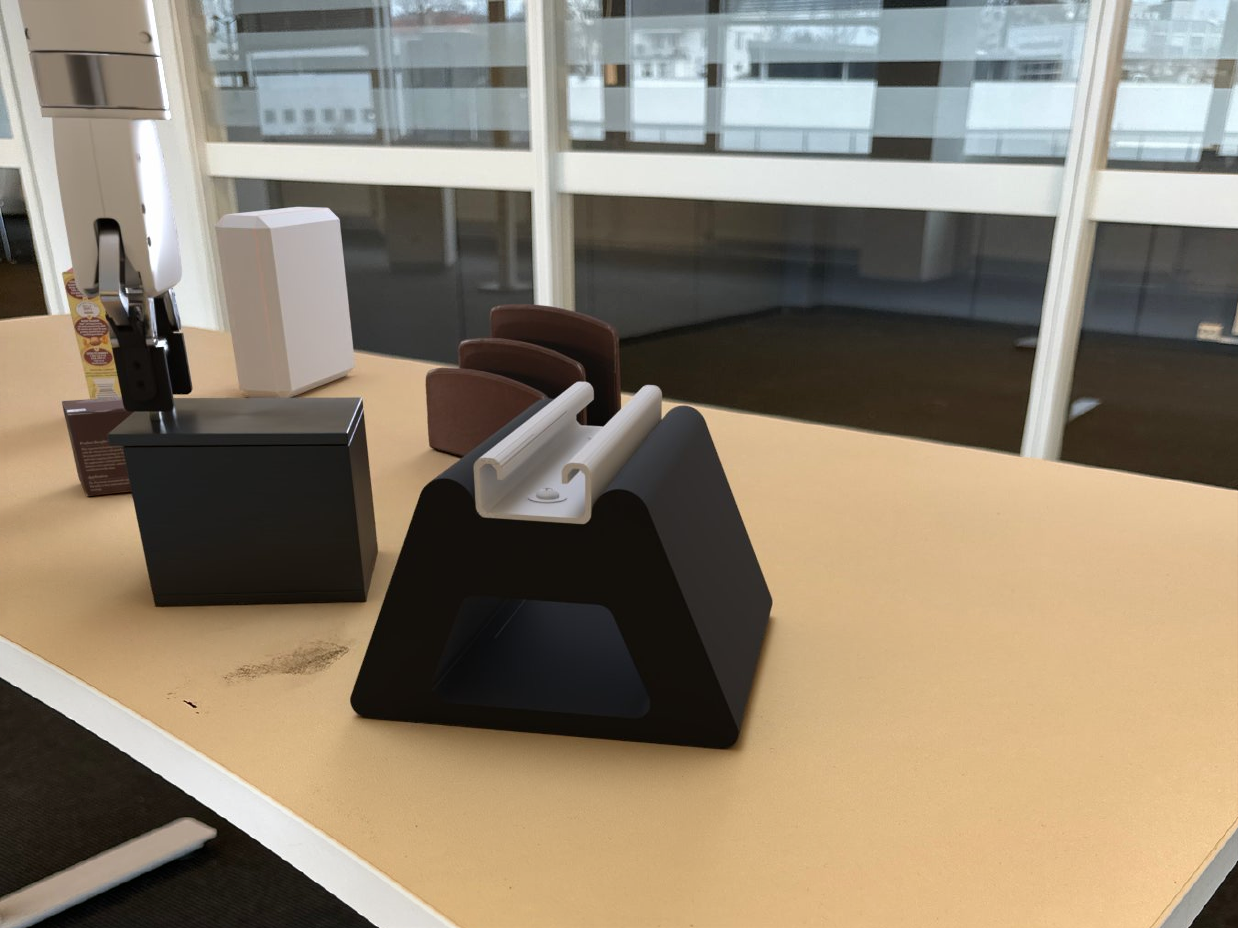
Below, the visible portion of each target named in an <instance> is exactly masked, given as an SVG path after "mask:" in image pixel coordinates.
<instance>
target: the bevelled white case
mask: <svg viewBox="0 0 1238 928" xmlns="http://www.w3.org/2000/svg"><path fill="white" fill-rule="evenodd" d="M341 229H342V228H341V220H340V218H339V216H337V215H336V214H335V212H333V211H332V210H331V208H329V207H320V206H319V207H316V206H315V207H313V206H293V207H284V208H283V207H282V208H274V209H273V208H272V209H265V210H256V211H255V210H254V211H247V212H237V213H236V212H235V213H228V214H223V215H222V216H221V218H220V219H219V220H218V221H217V223H216V224H215V225H214V230H215V237H216V244H217V250H218V251H217V252H218V256H219V263H220V269H221V276H222V283H223V289H224V294H225V303H226V308H227V309H226V310H227V316H228V321H229V328H230V333H231V334H230V335H231V342H232V348H233V349H232V350H233V354H234V355H233V356H234V362H235V368H236V373H237V375H236V376H237V380H238V381H237V382H238V388H239V389H240V390H241V391H242V392H243V393H244V394H245V395H247V397H248V398H294V397H296V396H299V395H301V394H303V393H306V392H309V391H312V390H313V389H316V388H319V387H321V386H324V385H326V384H329V383H332V382H333V381H336V380H339V379H341V378H344V377H347V376H348V375H349V374H350V372H352V371H353V369H354V368H355V367H356V362H355V360H356V359H355V352H354V344H353V343H354V342H353V333H352V324H351V323H352V322H351V315H350V304H349V295H348V285H347V276H346V267H345V258H344V248H343V240H342V230H341Z"/></svg>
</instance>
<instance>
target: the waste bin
mask: <svg viewBox="0 0 1238 928" xmlns="http://www.w3.org/2000/svg"><path fill="white" fill-rule="evenodd" d="M364 411H365V410H364V409H363V410H362V412H361V414H360V417H359V419H358V422H357V424H356V427H355V429H354V432H353V434H352V437H351V439H350V441H349V444H348V445H230V446H124V447H123V453H124V457H125V462H126V467H127V472H128V477H129V482H130V487H131V491H130V492H131V497H132V502H133V506H134V511H135V515H136V519H137V520H136V521H137V525H138V530H139V535H140V541H141V546H142V551H143V556H144V559H145V565H146V569H147V575H148V579H149V585H150V589H151V594H152V600H153V603H154V606H155V607H178V606H179V607H180V606H181V607H182V606H185V607H187V606H188V607H189V606H225V605H226V606H227V605H230V606H231V605H269V604H272V605H273V604H276V605H277V604H312V603H313V604H316V603H317V604H318V603H321V604H322V603H359V602H360V603H361V602H364V603H365V602H367V598H368V594H369V590H370V586H371V582H372V579H373V578H372V576H373V573H374V569H375V566H376V561H377V556H378V552H379V546H378V545H379V544H378V537H377V526H376V518H375V508H374V507H375V506H374V499H373V497H374V496H373V489H372V488H373V487H372V478H371V470H370V468H371V467H370V458H369V449H368V439H367V430H366V419H365V412H364Z"/></svg>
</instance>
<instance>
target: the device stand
mask: <svg viewBox="0 0 1238 928" xmlns="http://www.w3.org/2000/svg"><path fill="white" fill-rule="evenodd" d="M592 400H594V390H593V387H592V386H591V384H589V383H588V382H576V383H575V384H573V385H572V386H571V387H570V388H568V389H567V390H566V391H565V392H563V393H562V394H561V395H559V396H558V397H557V398H556V399H550V398H546V399H541V400H539V401H537V402H536V403H534V404H533V405H532V406H530V407H529V408H528V409H526V410H525V411H524V412H522V413H521V414H520V415H518V416H517V417H516V418H514V419H513V420H512V421H510V422H509V423H508V424H506V425H505V426H504V427H502V428H501V429H500V430H498V431H497V432H496V433H494V434H493V435H492V436H490V437H489V438H488V439H486V440H485V441H484V442H482V443H481V444H480V445H479V446H477V447H476V448H475V449H473V450H472V451H471V452H469V453H468V454H467V455H465V456H464V457H461V458H460V459H459V460H457V461H456V462H454V463H453V464H452V465H450V466H449V467H448V468H446V469H445V470H444V471H442V472H440V474H439V475H437V476H436V477H434V478H433V479H432V480H430V481H429V482H428V483H427V484H426V485H424V487H423V488H422V489H421V491H420V493H419V496H418V499H417V502H416V504H415V508H414V510H413V514H412V517H411V520H410V521H409V525H408V528H407V531H406V534H405V537H404V540H403V543H402V546H401V549H400V552H399V555H398V557H397V560H396V564H395V566H394V569H393V571H392V575H391V578H390V581H389V583H388V586H387V589H386V593H385V594H384V595H385V596H384V598H383V601H382V604H381V606H380V608H379V609H380V611H379V613H378V616H377V618H376V621H375V624H374V628H373V630H372V633H371V637H370V639H369V641H368V644H367V648H366V651H365V654H364V656H363V659H362V662H361V665H360V668H359V671H358V674H357V677H356V678H355V683H354V686H353V688H352V691H351V695H350V696H349V703H350V706H351V709H352V710H353V711H354V712H355V713H356V714H357V716H359V717H362V718H364V719H371V720H372V719H373V720H383V721H385V720H386V721H395V722H406V723H420V724H431V725H442V726H452V727H464V728H465V727H466V728H476V729H489V730H500V731H509V732H510V731H511V732H522V733H534V734H546V735H558V736H568V737H569V736H570V737H580V738H590V739H591V738H592V739H603V740H616V741H626V742H638V743H648V744H649V743H651V744H661V745H673V746H684V747H686V746H687V747H695V748H696V747H698V748H706V749H707V748H708V749H709V748H710V749H720V750H727V749H730V748H732V747H733V746H734V745H735V744H736V743H737V742H738V740H739V736H740V733H741V729H742V725H743V722H744V718H745V714H746V709H747V706H748V702H749V697H750V693H751V690H752V686H753V683H754V679H755V674H756V670H757V667H758V662H759V659H760V654H761V650H762V647H763V642H764V639H765V634H766V632H767V631H766V630H767V627H768V623H769V619H770V616H771V611H772V608H773V603H774V602H773V598H772V597H773V596H772V594H771V592H770V589H769V586H768V584H767V581H766V578H765V576H764V574H763V571H762V568H761V565H760V562H759V560H758V557H757V555H756V552H755V549H754V547H753V544H752V541H751V538H750V536H749V533H748V531H747V528H746V525H745V523H744V522H745V521H744V520H743V517H742V515H741V512H740V509H739V507H738V504H737V501H736V499H735V496H734V493H733V491H732V488H731V485H730V483H729V480H728V477H727V474H726V472H725V469H724V466H723V464H722V461H721V459H720V455H719V454H718V451H717V447H716V446H715V442H714V440H713V438H712V437H713V436H712V435H711V433H710V429H709V427H708V424H707V422H706V419H705V417H704V416H703V414H702V413H701V412H700V411H699V410H698V409H696V408H695V407H693V406H690V405H683V404H682V405H678V406H674V407H672V408H671V409H670V410H668V412H666V413H665V415H664V416H662V415H663V414H662V413H663V412H662V411H663V392H662V389H661V388H660V387H659V386H657V385H656V384H655V385H654V384H645V385H644V386H642V387H641V388H640V389H639V390H638V391H637V392H636V393H634V395H633V396H632V397H631V398H630V399H629V400H628V401H627V402H626V403H625V404H624V405H623V406H622V407H621V410H620V411H619V412H618V413H617V414H616V415H615V416H614V417H613V418H612V419H611V420H610V421H609V422H608V423H607V424H606V425H605V426H604V427H602V426H583V425H580V424H579V423H578V422H577V421H576V415H577V414H578V413H579V412H580V411H581V410H582V409H583V408H585V407H586V406H587V405H588V404H589V403H590V402H591V401H592Z"/></svg>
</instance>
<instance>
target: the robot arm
mask: <svg viewBox="0 0 1238 928" xmlns="http://www.w3.org/2000/svg"><path fill="white" fill-rule="evenodd" d="M17 3H18V8H19V12H20V17H21V22H22V27H23V31H24V37H25V42H26V45H27V46H26V47H27V51H28V52H29V53H28V56H29V57H28V58H29V61H30V66H31V70H32V75H33V80H34V85H35V90H36V96H37V101H38V104H39V107H40V115H41V117H42V118H51V121H52V122H51V123H52V137H53V149H54V158H55V167H56V174H57V181H58V188H59V195H60V200H61V207H62V212H63V219H64V227H65V232H66V237H67V238H66V239H67V244H68V248H69V249H68V250H69V254H70V256H69V257H70V261H71V266H72V267H73V273H74V278H75V283H76V287H77V288H78V290H79V291H80V292H81V293H82V294H83V295H84V296H86V297H96V296H100V300H101V302H102V304H103V306H104V308H105V310H106V311H105V312H106V314H105V317H106V320H107V321H108V330H109V338H110V342H111V345H112V351H113V356H114V361H115V366H116V371H117V376H118V381H119V386H120V391H121V396H122V401H123V406H124V408H125V409H126V410H127V411H129V412H168V411H171V410H172V409H173V408H174V406H175V403H174V398H175V397H174V396H177V395H179V396H181V395H183V396H185V395H189V394H191V393H192V391H193V382H192V377H191V371H190V365H189V359H188V352H187V347H186V341H185V335H184V332H182V320H181V317H180V311H179V308H178V303H177V300H176V293H175V291H174V287H175V286H176V285H178V284H179V283H180V281H181V280H182V276H183V268H182V257H181V250H180V249H181V248H180V243H179V237H178V229H177V225H176V219H175V213H174V206H173V202H172V197H171V191H170V186H169V180H168V175H167V169H166V166H165V160H164V158H165V157H164V153H163V151H162V146H161V142H160V137H159V132H158V128H157V124H156V121H172V116H171V110H170V109H171V108H170V102H169V96H168V90H167V84H166V78H165V71H164V66H163V59H162V58H161V56H162V55H161V48H160V43H159V36H158V30H157V23H156V18H155V17H156V16H155V10H154V5H153V0H17ZM72 267H71V268H72ZM157 332H160V333H162V334H164V335H166V336H167V337H168V338H169V340H170V341H171V344H172V353H171V355H170V356H169V357H168V358H167V359H166V353H165V348H164V346H158V336H157Z"/></svg>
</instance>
